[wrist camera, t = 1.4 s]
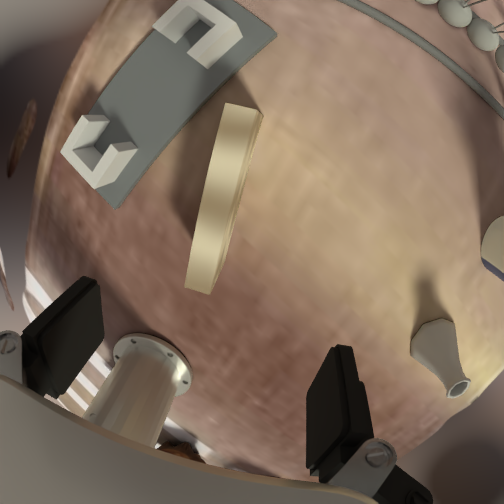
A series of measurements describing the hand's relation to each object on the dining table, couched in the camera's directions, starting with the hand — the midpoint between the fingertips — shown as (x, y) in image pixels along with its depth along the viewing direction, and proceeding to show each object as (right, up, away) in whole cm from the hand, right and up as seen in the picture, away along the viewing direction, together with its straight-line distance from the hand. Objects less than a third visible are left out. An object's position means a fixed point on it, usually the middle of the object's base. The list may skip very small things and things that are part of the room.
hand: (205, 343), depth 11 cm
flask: (+26, -8, +23) cm, 36 cm away
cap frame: (-8, +20, +15) cm, 26 cm away
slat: (0, +10, +19) cm, 21 cm away
